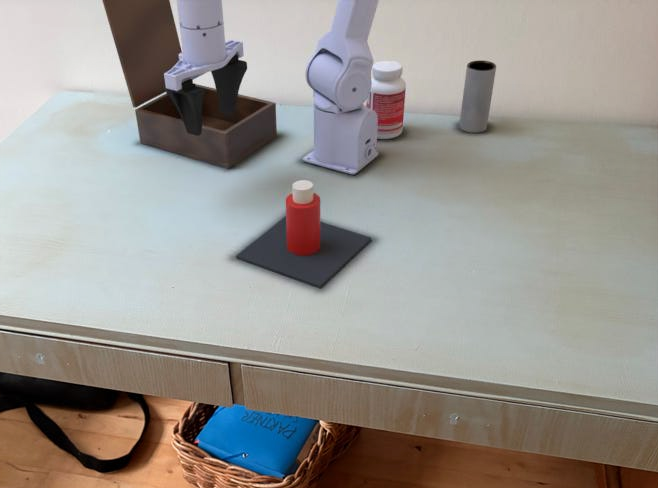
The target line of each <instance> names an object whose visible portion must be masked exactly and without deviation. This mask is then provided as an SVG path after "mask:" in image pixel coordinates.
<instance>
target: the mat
mask: <svg viewBox="0 0 658 488" xmlns="http://www.w3.org/2000/svg"><path fill="white" fill-rule="evenodd" d="M371 241H372V237H371V236H367V235H365V234H362V233H358V232H355V231H352V230H349V229H345V228H342V227H339V226H335V225H332V224H330V223H326V222H323V221H320V249H319V250H318V251H317V252H315V253H313V254H310V255H296V254H293V253H291V252H290V251H289V250H288V249H287V230H286V215H285V216H284V217H283V218H281V219H280V220H278V222H277V223H275V224H274V225H273V226H271V227H270V228H269V229H267V230H266V231H265V232H264V233H262V234H261V235H260V236H259V237H258V238H256V239H255V240H254V241H252V243H251V242H250V244H249V245H248V246H246V247H245V248H244V249H242V250H241V251H240V252H238V254H236V255H235V258H236V259H237V260H240V261H243V262H246V263H249V264H252V265H254V266H257V267H260V268H263V269H265V270H268V271H270V272H274V273H277V274H278V275H282V276H285V277H288V278H290V279H292V280H296V281H299V282H301V283H304V284H307V285H309V286H312V287H316V288H318V289H321V288H322V287H323V286H324V285H325V284H326V283H328V281H330V280H331V279H332V278H333V277H334V276H335V275H336V274H337V273H338V272H339V271H340V270H341V269H342V268H343V267H344V266H345V265H347V264H348V262H350V261H351V260H352V259H353V258H354V257H355V256H356V255H357V254H358V253H359V252H360V251H362V250H363V248H365V247H366V246H367V245H368V244H369V243H370V242H371Z"/></svg>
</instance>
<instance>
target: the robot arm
mask: <svg viewBox="0 0 658 488" xmlns="http://www.w3.org/2000/svg"><path fill="white" fill-rule="evenodd" d="M379 1H380V0H338V1H337V4H336V9H335V12H334V16H333V20H332V23H331V27H330V30H329V31H328V32H326V33H325V34H324V35H323V36H321V37H320V38H319V40H318V42H317V45H316V49H315V51H314V53H313V54H312V56H311V57H310V59H309V60H308V62H307V63H306V67H305V73H304V75H305V82H306V84H307V85H308V87H309V88H311V89H312V98H313V149H312V150H311V151H310V152H309V153H307V154H306V155H305V156H303V157H302V161H303V162H305V163H309V164H312V165H316V166H319V167H324V168H326V169H330V170H334V171H338V172H341V173H345V174H349V175H356V174H357V173H358V172H360V171H361V170H362V169H363V168H364V167H366V166H367V165H368V164H369V163H371V162H372V161H373V160H374V159H376V158H377V157H378V156H379V152H378V151H377V147H378V146H377V145H378V144H377V143H378V138H377V128H378V117H377V114H376V112H375V111H374V110H372V109H369V108H367V107H366V104H365V102H367V98H368V96H369V94H370V91H371V85H372V82H371V78H372V70H373V65H374V57H373V54H372V51H371V49H370V46H369V41H368V39H369V36H370V33H371V30H372V26H373V22H374V19H375V15H376V12H377V8H378V5H379ZM176 4H177V5H176V6H177V13H178V15H177V16H178V24H179V30H180V31H179V32H180V41H181V50H182V53H180V54H179V62H178V63H177V64H176V65H175V66H174V67H173V68H172V69H171V70H169V71H168V72H166V73H164V78H165V83H164V88H165V91H166V92H165V94H166V93H167V94H168V95H169V96H170V98H171V99H172V101H173V102H174V104H175V105H176V107H177V109H178V111H179V113H180V115H181V118H182V120H183V122H184V125H185V128H186V130H187V133H189V134H193V135H196V136H199V135H201V133H202V102H203V97H204V93H205V90H206V89H205V88H201V87H197V86H196V85H195V84H196V83H195V82H194V80H195V79H197V78H199V77H201V76H203V75H205V74H207V73H209V72H211V76H212V80H213V82H214V85H215V89H216V91H217V98H218V105H219V109H220V112H221V113H222V114H226V115H230V116H232V115H234V113H235V108H236V102H237V97H238V94H239V91H240V87H241V85H242V81H243V79H244V76H245V74H246V72H247V70H248V62H247V61H245V60H242V59H241V58H242V57H244V42H243V41H240V40H234V39H231V40H228V41H226V36H225V21H224V12H223V11H224V9H223V0H176Z"/></svg>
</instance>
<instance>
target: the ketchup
mask: <svg viewBox="0 0 658 488" xmlns="http://www.w3.org/2000/svg"><path fill="white" fill-rule="evenodd" d="M291 187H292V192H291V193H290V194H288V195H287V196H286V198H285V216H286V230H287V249H288V250H289V251H290V252H291V253H293V254H296V255H310V254H313V253H315V252H317V251H318V250H319V249H320V222H321V197H320V195H318V194H317V193H316V192H314V183H313V182H312V181H310V180H307V179H301V180H297V181H294V182H293V183H292V186H291Z"/></svg>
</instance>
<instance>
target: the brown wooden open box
mask: <svg viewBox="0 0 658 488" xmlns="http://www.w3.org/2000/svg"><path fill="white" fill-rule="evenodd" d="M195 85H196V86H197V87H201V88H205V89H206V90H205V93H204V97H203V102H202V133H201V135H199V136H196V135H193V134H189V133H187V130H186V128H185V125H184V122H183V120H182V118H181V115H180V113H179V111H178V109H177V107H176V105H175V104H174V102H173V101H172V99H171V98H170V96H169V95H168V94H167V93H166V92H165V93H163V94H161V95H159V96H158V97H156V98H154V99H152V100H150V101H148V102H146V103H144V104H142V105H140V107H139V106H138V107H137V108H136V109H135V110H134V113H135V118H136V123H137V131H138V137H139V142H140V144H143V145H146V146H149V147H153V148H155V149H159V150H163V151H166V152H168V153H169V152H170V153H173V154H176V155H180V156H183V157H187V158H189V159H193V160H197V161H200V162H204V163H207V164H209V165H213V166H217V167H220V168H224V169H226V170H227V169H230V168H232V167H233V166H235V165H236V164H238V163H240V161H243V160H244V159H245V158H247V157H248V156H250V155H252V153H254V152H256V151H257V150H259V149H261V147H263V146H264V145H266V144H268V143H270V141H273V140H274V139H275V138H277V137H278V130H277V105H276V102H274V101H270V100H267V99H266V100H265V99H261V98H258V97H253V96H249V95H244V94H240V93H238V97H237V102H236V108H235V113H234V115H232V116H230V115H226V114H222V113H221V112H220V109H219V105H218V98H217V91H216V87H215V88H214V87H210V86H206V85H202V84H197V83H195Z"/></svg>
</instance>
